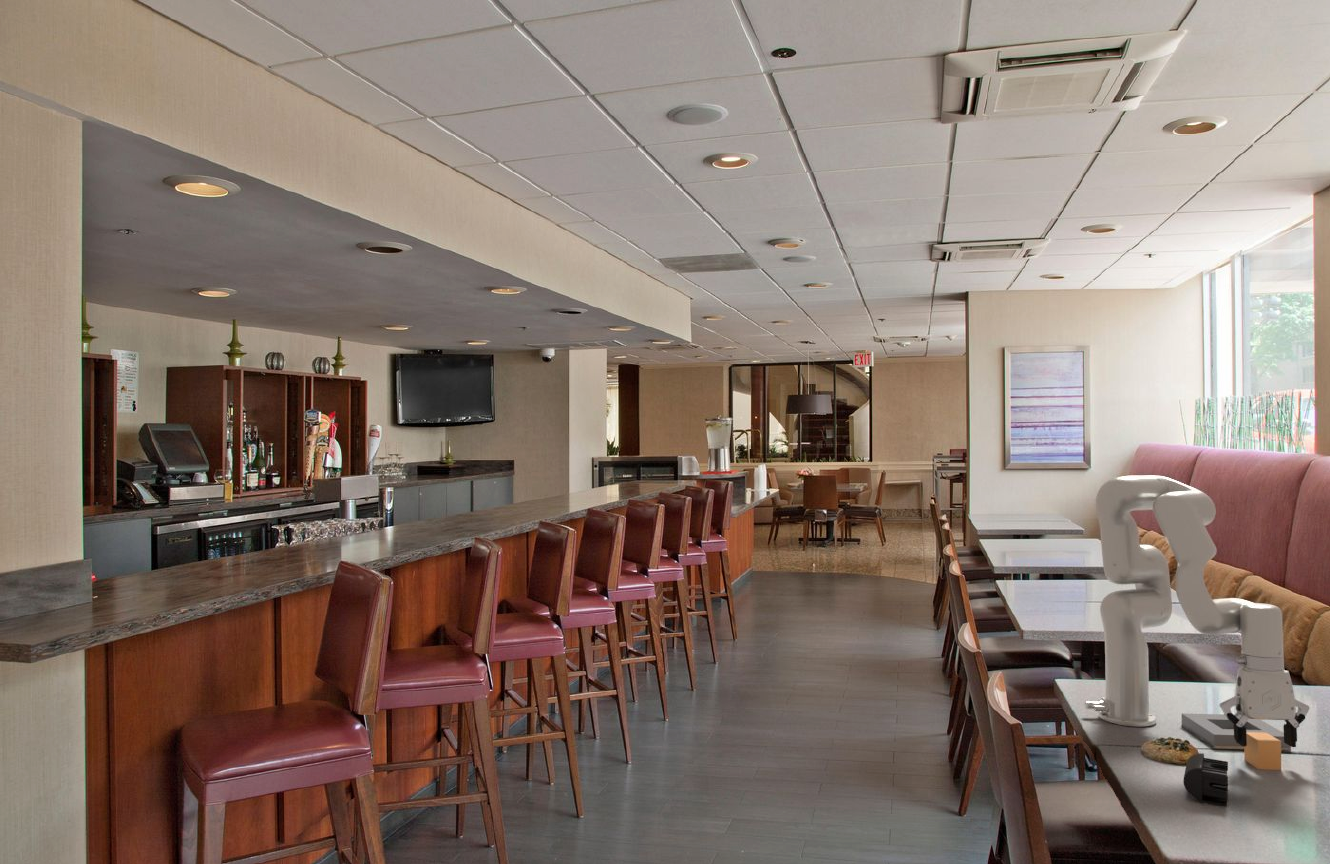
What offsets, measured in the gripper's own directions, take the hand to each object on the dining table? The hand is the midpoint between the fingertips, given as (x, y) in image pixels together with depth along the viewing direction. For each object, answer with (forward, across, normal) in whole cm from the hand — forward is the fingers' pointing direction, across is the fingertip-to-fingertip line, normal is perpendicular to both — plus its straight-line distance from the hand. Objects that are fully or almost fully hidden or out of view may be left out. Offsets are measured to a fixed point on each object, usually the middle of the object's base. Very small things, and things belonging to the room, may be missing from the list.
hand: (1265, 745), depth 193 cm
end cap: (+5, -20, -18) cm, 28 cm away
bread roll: (+5, -17, +4) cm, 18 cm away
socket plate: (+4, +3, +19) cm, 19 cm away
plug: (+4, 0, +1) cm, 4 cm away
